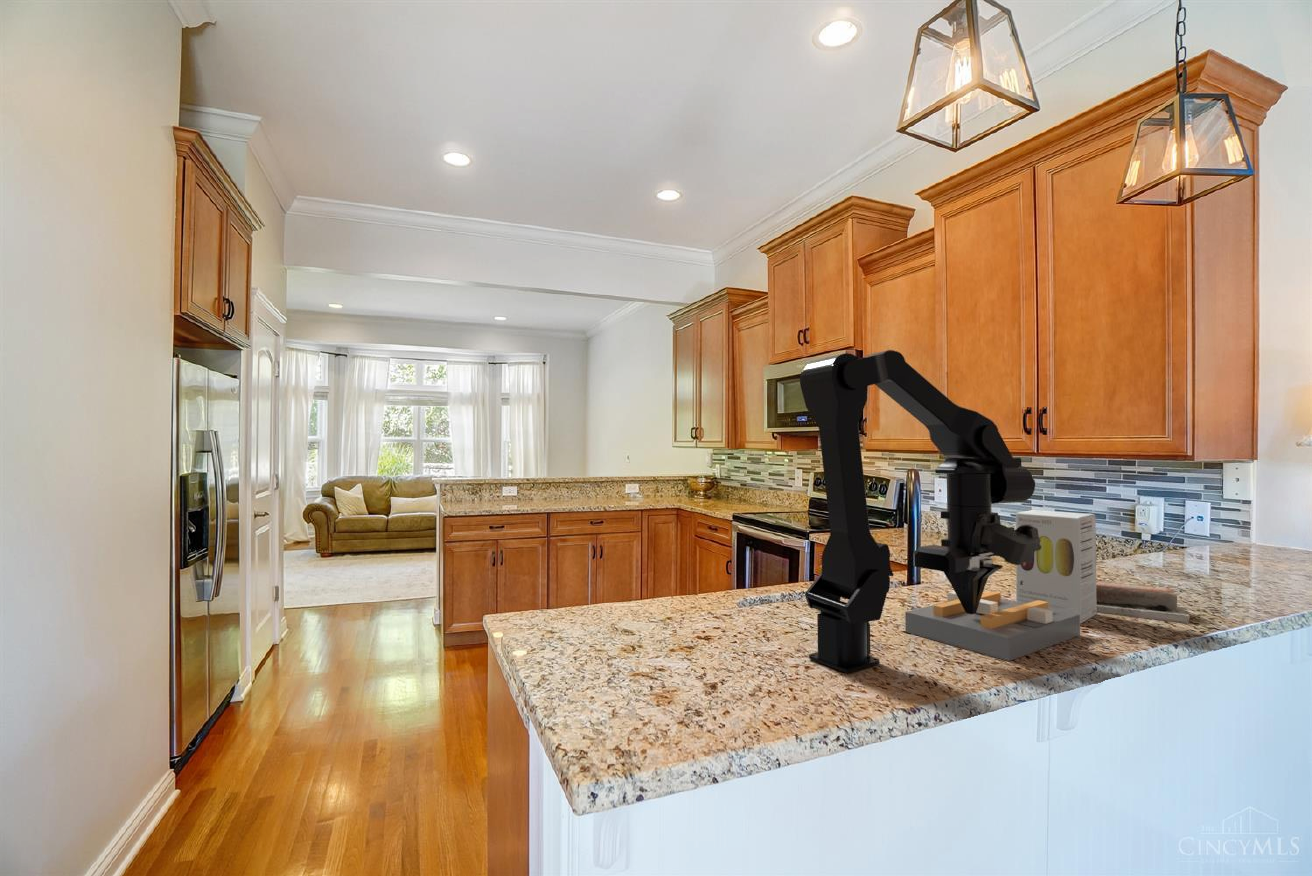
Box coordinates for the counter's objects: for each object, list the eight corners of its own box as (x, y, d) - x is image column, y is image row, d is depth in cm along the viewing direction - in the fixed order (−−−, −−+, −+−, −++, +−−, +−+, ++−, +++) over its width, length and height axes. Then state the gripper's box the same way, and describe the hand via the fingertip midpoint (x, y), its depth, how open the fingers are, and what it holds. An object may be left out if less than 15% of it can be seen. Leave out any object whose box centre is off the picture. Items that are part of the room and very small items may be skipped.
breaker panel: (1008, 661, 77) (1008, 625, 77) (905, 631, 89) (905, 601, 89) (1080, 635, 87) (1079, 603, 88) (978, 612, 100) (978, 584, 100)
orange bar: (990, 629, 81) (990, 618, 81) (980, 626, 82) (980, 616, 82) (1048, 611, 89) (1048, 602, 89) (1038, 609, 90) (1038, 600, 90)
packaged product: (1052, 581, 103) (1053, 572, 111) (1052, 609, 103) (1054, 598, 111) (1190, 595, 93) (1181, 584, 101) (1191, 626, 93) (1182, 612, 101)
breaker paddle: (990, 615, 86) (990, 604, 86) (974, 611, 88) (973, 601, 88) (997, 613, 87) (997, 602, 87) (981, 609, 89) (981, 599, 89)
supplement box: (1014, 612, 100) (1012, 512, 100) (1033, 603, 106) (1031, 508, 106) (1082, 625, 92) (1079, 516, 93) (1099, 614, 98) (1096, 512, 99)
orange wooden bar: (942, 617, 86) (942, 607, 87) (933, 614, 88) (933, 605, 88) (1000, 601, 95) (1000, 593, 95) (991, 600, 96) (991, 591, 96)
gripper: (990, 513, 74) (992, 639, 74) (1061, 505, 84) (1063, 616, 84) (910, 507, 84) (911, 618, 83) (982, 500, 93) (984, 600, 93)
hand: (970, 613), depth 86 cm, fingers closed
